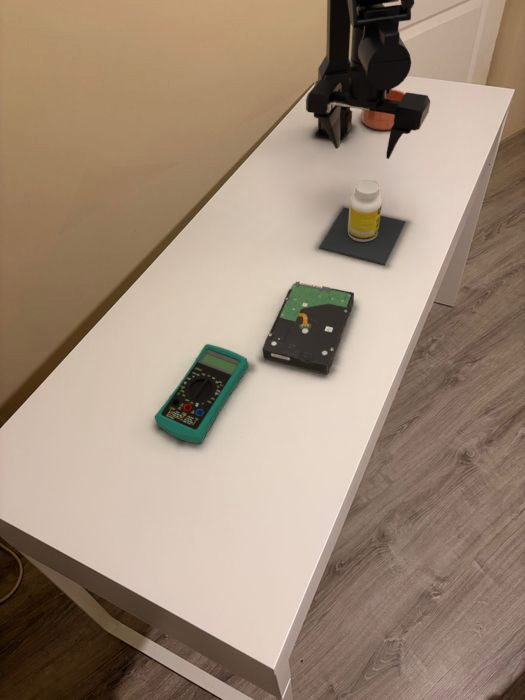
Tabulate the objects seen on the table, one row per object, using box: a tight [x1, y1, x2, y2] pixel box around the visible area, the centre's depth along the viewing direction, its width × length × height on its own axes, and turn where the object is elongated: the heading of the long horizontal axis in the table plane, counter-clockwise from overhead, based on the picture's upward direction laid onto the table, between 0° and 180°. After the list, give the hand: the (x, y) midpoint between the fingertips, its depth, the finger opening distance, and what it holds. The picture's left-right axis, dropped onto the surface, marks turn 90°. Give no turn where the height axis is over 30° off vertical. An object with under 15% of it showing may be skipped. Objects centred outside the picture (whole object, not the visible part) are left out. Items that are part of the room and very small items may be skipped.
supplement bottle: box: [348, 178, 383, 242], centre depth 85 cm, size 5×5×10 cm
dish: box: [361, 88, 406, 131], centre depth 110 cm, size 10×10×4 cm
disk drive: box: [261, 281, 355, 375], centre depth 76 cm, size 10×3×15 cm
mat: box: [318, 206, 406, 266], centre depth 89 cm, size 12×12×1 cm
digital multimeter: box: [154, 343, 249, 444], centre depth 70 cm, size 7×15×3 cm, turn 153°
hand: (362, 152), depth 85 cm, fingers open, 9 cm apart
